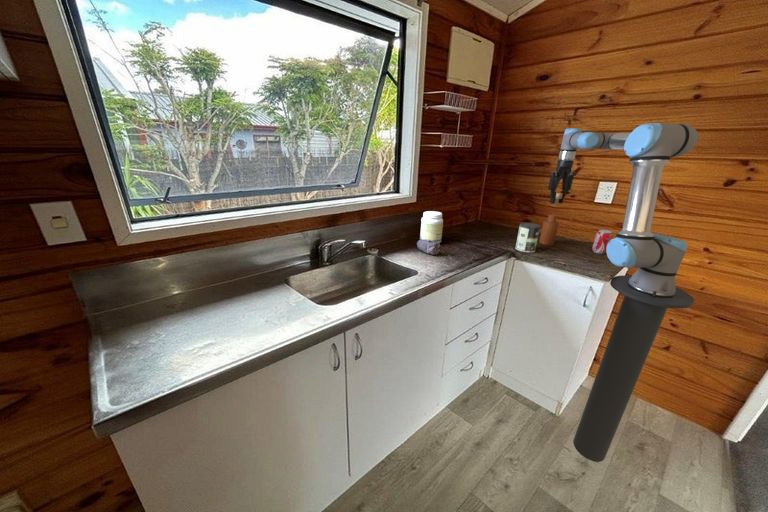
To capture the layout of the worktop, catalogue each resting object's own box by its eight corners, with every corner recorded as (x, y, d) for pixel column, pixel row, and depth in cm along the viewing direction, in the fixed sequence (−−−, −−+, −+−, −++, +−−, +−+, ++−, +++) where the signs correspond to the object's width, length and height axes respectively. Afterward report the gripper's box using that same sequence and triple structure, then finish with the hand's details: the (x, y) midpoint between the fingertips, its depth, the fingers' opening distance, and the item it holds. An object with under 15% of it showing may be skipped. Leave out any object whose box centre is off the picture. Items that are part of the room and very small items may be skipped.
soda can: (588, 250, 169) (594, 229, 164) (601, 250, 169) (607, 229, 164) (596, 254, 162) (602, 233, 158) (609, 255, 162) (616, 233, 158)
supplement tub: (445, 242, 175) (448, 213, 169) (431, 246, 167) (433, 216, 161) (429, 237, 183) (431, 209, 177) (415, 240, 176) (417, 212, 170)
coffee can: (536, 248, 168) (541, 224, 163) (534, 254, 160) (539, 228, 155) (516, 245, 173) (521, 221, 168) (513, 250, 165) (518, 225, 160)
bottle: (550, 246, 174) (557, 217, 168) (536, 242, 179) (542, 214, 173) (556, 243, 178) (562, 215, 172) (542, 240, 184) (548, 212, 178)
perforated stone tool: (413, 249, 163) (414, 236, 160) (420, 247, 165) (421, 235, 163) (433, 257, 151) (434, 244, 149) (440, 255, 154) (442, 242, 152)
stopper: (557, 206, 168) (560, 193, 165) (549, 205, 171) (552, 192, 168) (561, 205, 170) (564, 193, 168) (552, 204, 174) (555, 191, 171)
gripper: (575, 159, 166) (565, 201, 175) (546, 158, 164) (537, 201, 172) (586, 160, 159) (574, 204, 168) (555, 159, 157) (545, 204, 165)
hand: (555, 203), depth 170 cm, fingers closed on stopper, 5 cm apart
